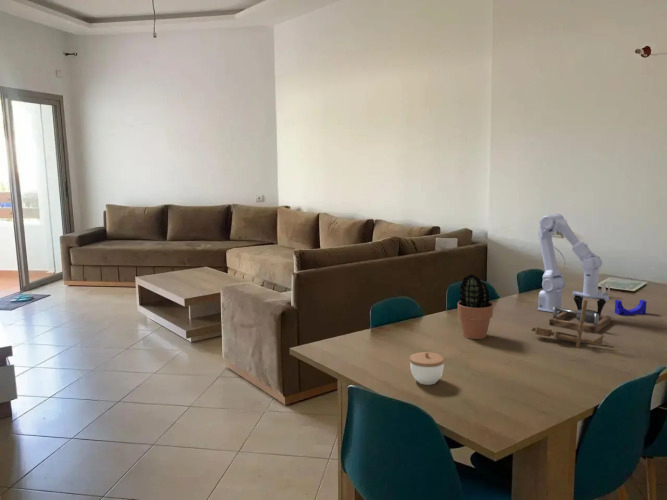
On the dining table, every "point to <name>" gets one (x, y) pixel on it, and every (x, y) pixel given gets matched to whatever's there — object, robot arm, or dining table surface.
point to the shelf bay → (575, 326)
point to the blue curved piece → (637, 310)
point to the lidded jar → (426, 367)
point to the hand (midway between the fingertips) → (589, 314)
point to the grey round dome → (587, 318)
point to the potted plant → (474, 308)
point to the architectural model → (604, 290)
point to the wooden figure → (568, 336)
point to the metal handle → (596, 316)
